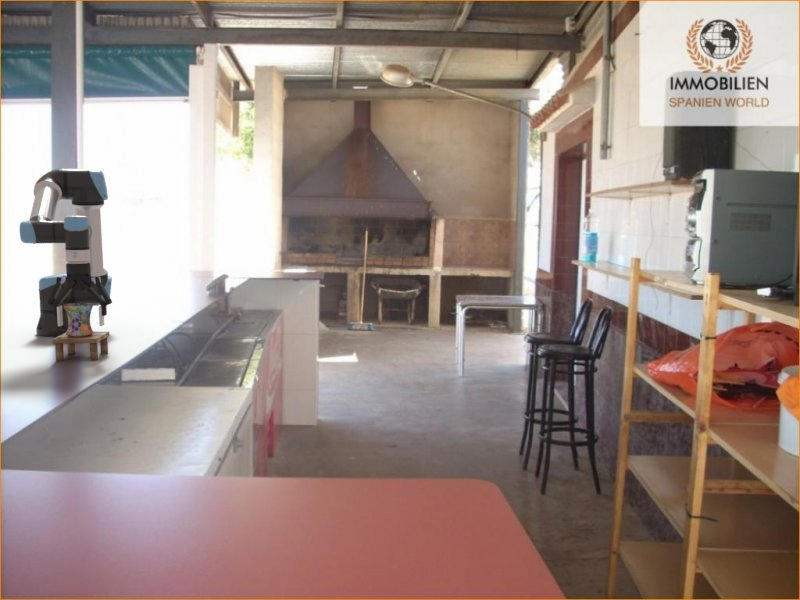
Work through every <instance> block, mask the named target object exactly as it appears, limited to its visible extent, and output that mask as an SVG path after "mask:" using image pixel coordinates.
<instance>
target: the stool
mask: <svg viewBox="0 0 800 600" xmlns="http://www.w3.org/2000/svg"><path fill="white" fill-rule="evenodd" d="M109 336H110V331H93V334H91V335H89V336H85V337H71V336H68V335H66V333H64V334H62V335H60V336H55V337H54V338H52V344H54V346H55V361H56V362H63V361H65V357H64V355H65V354H64V353H65V352H64V344H67V347H66V348H67V355H75V354H76V344H89V360H90V361H91V362H94V361H99V352H98V351H99V350H100V354H101V355H108V354H109V344H108V343H109V341H108V338H109ZM99 343H100V344H99ZM98 344H99V347H100V349H98Z"/></svg>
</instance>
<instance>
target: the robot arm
mask: <svg viewBox="0 0 800 600" xmlns="http://www.w3.org/2000/svg"><path fill="white" fill-rule="evenodd" d="M33 195H34V201H33V203H32V204H33V205H32V207H31V208H32V209H31V211H30V216H29V220H25V221H24V220H23V221H21V222H20V224H19V238H20V241H21V243H24V244H33V245H34V244H64V245H65V246H64V247H65V248H64V249H65V250H64V251H65V261H66V262H67V263H66V264H65V271H66V273H58V274H50V275H46V276H42V277H41V278H40V279H39V280H38V293H39V295H38V296H39V312H40V314H39V319H38V322H37V325H36V329H35V330H36V335H37V336H41V337H58V336H60V335H62V334H64V333H66V332H67V330H68V316H67V313H66V310H65V308H64V306H63V305H65V304H70V303H93V307H94V306H96V307H98V319H99V320H98V323H99V327H103V326H104V325H105V316H107V313H108V311H107V309H108V308H107V306H108V305H111V304H112V303H113V300H112V299H111V292H112V281H113V277H112V276H111V275H109V272H108V270H107V269H105V268H104V257H103V256H104V253H103V236H102V235H103V233H102V222H101V221H102V220H101V219H102V218H101V217H102V215H101V208H102V207H103V206H105V201H107V200H108V197H109V195H108V189H107V183H106V177H105V174H104V172H103V170H100V169H97V168H96V169H94V168H56V169H52V170H50V171H48V172H46V173H44V174H43V175H42V176H41V177H39V178H38V180H37V181H36V182H35V184H34V187H33ZM60 200H70V201H71V205H72V206H73V207H74V208H75V209H76V215H66V216H64V218H63V220H55V217H56V211H57V206H58V203H59V201H60Z"/></svg>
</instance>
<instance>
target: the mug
mask: <svg viewBox="0 0 800 600" xmlns="http://www.w3.org/2000/svg"><path fill="white" fill-rule="evenodd" d="M63 306H64V308H65V310H66V313H67V316H68V330H67V332H66V335H68V336H71V337H85V336H89V335H91V334H93V332H94V330H93V328H92V326H91V314H92V310H93V307H94V306H93V303H70V304H65V305H63Z"/></svg>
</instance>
